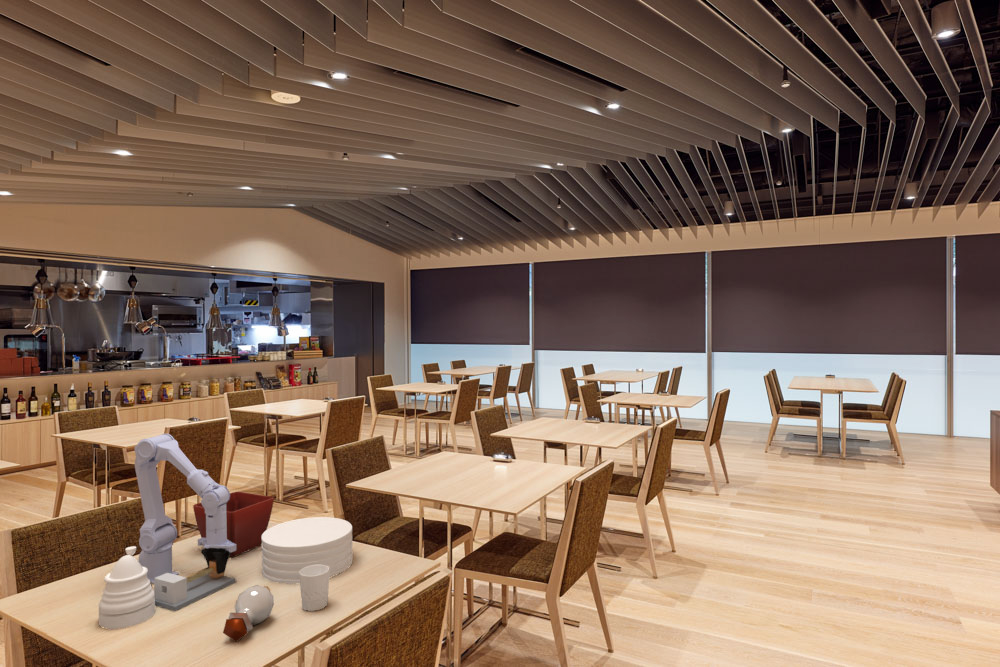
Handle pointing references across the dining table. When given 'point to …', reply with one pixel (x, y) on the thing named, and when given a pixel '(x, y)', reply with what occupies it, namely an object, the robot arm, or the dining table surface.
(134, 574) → the honey pot
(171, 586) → the block
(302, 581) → the white cup
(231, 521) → the plant pot
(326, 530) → the plate stack
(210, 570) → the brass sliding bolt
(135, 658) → the dining table surface
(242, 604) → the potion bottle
